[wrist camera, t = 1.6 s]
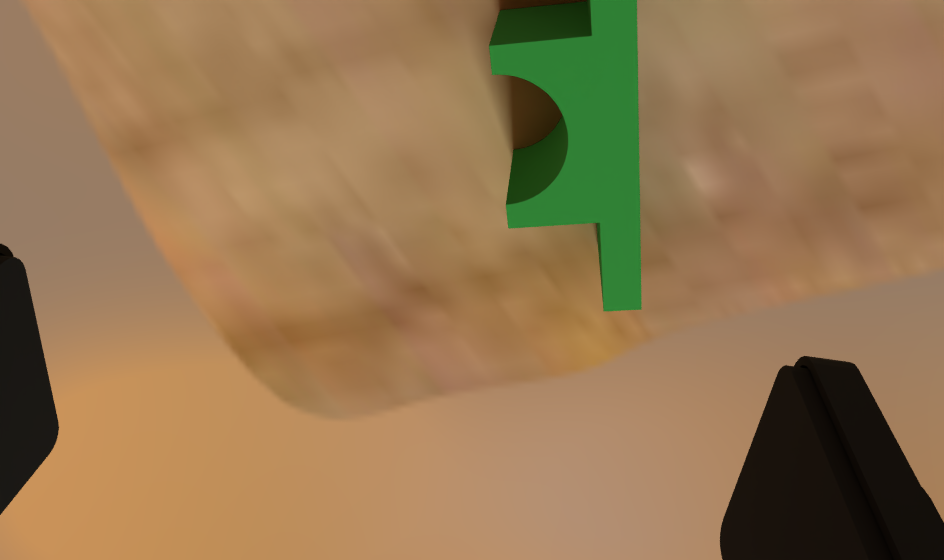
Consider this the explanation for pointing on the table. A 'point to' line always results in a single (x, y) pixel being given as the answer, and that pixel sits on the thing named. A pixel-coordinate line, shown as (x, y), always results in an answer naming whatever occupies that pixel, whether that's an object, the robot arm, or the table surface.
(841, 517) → the robot arm
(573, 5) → the pipe clamp
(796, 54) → the table surface
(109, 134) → the table surface
